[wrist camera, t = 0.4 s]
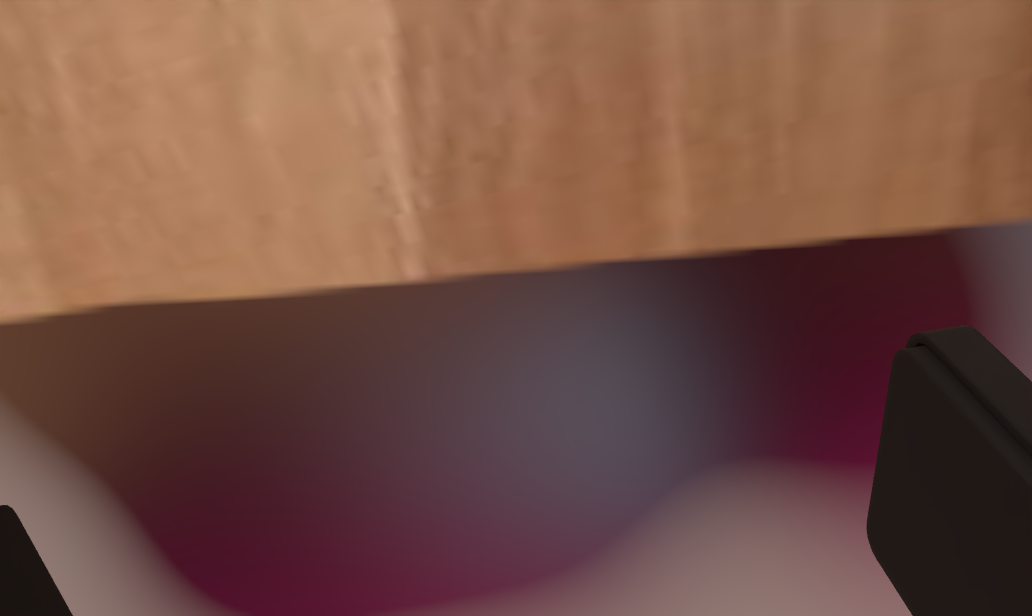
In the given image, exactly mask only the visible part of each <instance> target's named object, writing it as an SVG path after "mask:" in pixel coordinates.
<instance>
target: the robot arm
mask: <svg viewBox="0 0 1032 616" xmlns="http://www.w3.org/2000/svg"><path fill="white" fill-rule="evenodd" d="M867 535H868V540H869V543H870V546H871V549H872V552H873V553H874V555H875V557H876V559H877V561H878V562H879V564H880V565H881V567H882V568H883V570H884V571H885V573H886V575H887V576H888V578H889V579H890V581H891V582H892V584H893V585H894V587H895V589H896V590H897V592H898V593H899V595H900V596H901V598H902V600H903V601H904V603H905V604H906V606H907V607H908V609H909V610H910V612H911V614H912V615H913V616H1032V382H1031V381H1030V380H1029V379H1028V378H1027V377H1026V376H1025V375H1024V374H1023V373H1022V372H1021V371H1020V370H1019V369H1018V368H1017V367H1016V366H1014V365H1013V364H1012V363H1011V362H1010V361H1009V360H1008V359H1007V358H1006V357H1005V356H1004V355H1003V354H1002V353H1001V352H1000V351H999V350H998V349H996V348H995V347H994V346H993V345H992V344H991V343H990V342H989V341H988V340H987V339H986V338H985V337H984V336H983V335H982V334H981V333H979V332H978V331H977V330H976V329H974V328H972V327H971V326H965V325H963V326H956V327H950V328H945V329H939V330H933V331H927V332H921V333H917V334H914V335H912V336H911V337H910V339H909V340H908V341H907V345H906V348H905V349H901V350H899V351H897V352H896V354H895V355H894V358H893V361H892V367H891V374H890V380H889V386H888V392H887V399H886V405H885V411H884V418H883V424H882V431H881V437H880V443H879V449H878V455H877V461H876V468H875V474H874V481H873V487H872V493H871V499H870V505H869V512H868V518H867ZM0 616H73V615H72V613H71V612H70V610H69V608H68V606H67V605H66V603H65V601H64V599H63V597H62V595H61V594H60V592H59V590H58V588H57V586H56V585H55V583H54V581H53V579H52V577H51V575H50V574H49V572H48V570H47V568H46V566H45V565H44V563H43V561H42V559H41V557H40V556H39V554H38V552H37V550H36V548H35V547H34V545H33V543H32V541H31V539H30V538H29V536H28V534H27V532H26V530H25V529H24V527H23V525H22V523H21V521H20V519H19V518H18V516H17V514H16V513H15V511H14V510H13V509H12V508H11V507H9V506H8V505H1V506H0Z"/></svg>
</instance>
